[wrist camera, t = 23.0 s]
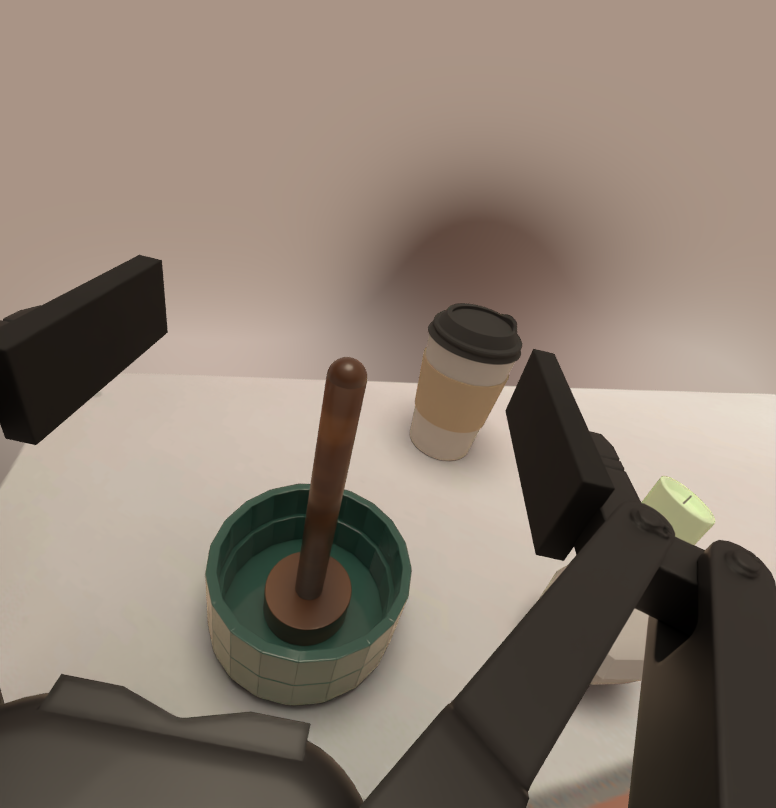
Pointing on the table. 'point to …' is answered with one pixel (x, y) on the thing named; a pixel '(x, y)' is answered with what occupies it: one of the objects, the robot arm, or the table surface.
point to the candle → (680, 509)
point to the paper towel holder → (320, 523)
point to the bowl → (245, 586)
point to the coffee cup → (461, 377)
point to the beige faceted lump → (622, 650)
